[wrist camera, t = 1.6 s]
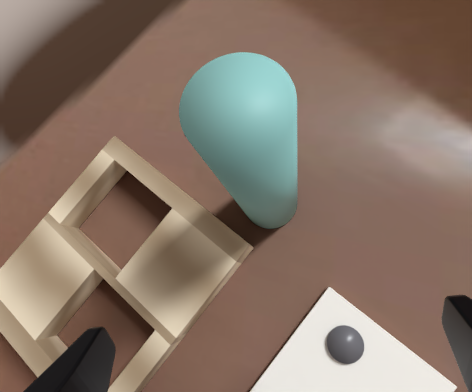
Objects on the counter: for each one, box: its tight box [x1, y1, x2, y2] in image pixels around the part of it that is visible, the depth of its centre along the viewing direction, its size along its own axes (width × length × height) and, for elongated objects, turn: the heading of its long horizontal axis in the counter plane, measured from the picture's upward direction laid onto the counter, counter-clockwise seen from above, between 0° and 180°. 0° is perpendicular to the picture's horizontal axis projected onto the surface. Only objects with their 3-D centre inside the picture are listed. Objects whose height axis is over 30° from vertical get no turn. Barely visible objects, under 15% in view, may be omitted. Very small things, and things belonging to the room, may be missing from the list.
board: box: [0, 136, 253, 392], centre depth 22 cm, size 14×12×2 cm
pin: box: [179, 52, 297, 229], centre depth 16 cm, size 4×4×13 cm
